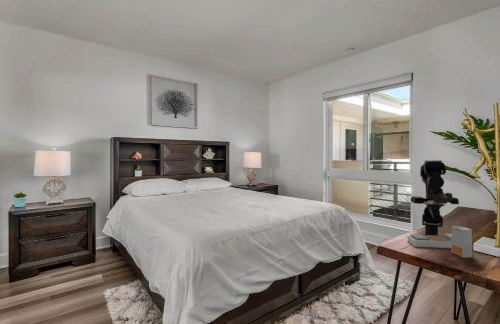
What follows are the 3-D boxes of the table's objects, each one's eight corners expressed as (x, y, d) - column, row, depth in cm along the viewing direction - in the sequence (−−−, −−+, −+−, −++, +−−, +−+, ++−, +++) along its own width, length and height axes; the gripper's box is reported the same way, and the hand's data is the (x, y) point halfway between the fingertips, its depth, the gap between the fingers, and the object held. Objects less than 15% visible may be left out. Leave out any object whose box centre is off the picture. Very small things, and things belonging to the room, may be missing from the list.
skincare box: (450, 252, 115) (450, 225, 114) (459, 252, 115) (459, 225, 115) (463, 257, 109) (463, 229, 108) (472, 257, 109) (472, 229, 109)
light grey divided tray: (407, 240, 131) (407, 235, 131) (458, 243, 127) (458, 237, 127) (414, 246, 123) (414, 240, 123) (469, 248, 119) (469, 242, 119)
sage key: (443, 238, 127) (443, 233, 127) (457, 239, 126) (457, 233, 126) (450, 242, 121) (450, 237, 121) (465, 243, 120) (465, 237, 120)
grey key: (410, 239, 130) (410, 234, 130) (424, 239, 129) (424, 235, 129) (416, 243, 124) (416, 238, 124) (430, 243, 123) (430, 238, 123)
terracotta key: (427, 240, 128) (427, 235, 128) (440, 240, 127) (440, 235, 127) (433, 244, 122) (433, 238, 122) (447, 244, 121) (447, 239, 121)
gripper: (420, 187, 119) (420, 221, 120) (466, 188, 116) (466, 222, 116) (410, 185, 130) (410, 215, 131) (452, 185, 127) (452, 216, 127)
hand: (434, 217), depth 126 cm, fingers closed
